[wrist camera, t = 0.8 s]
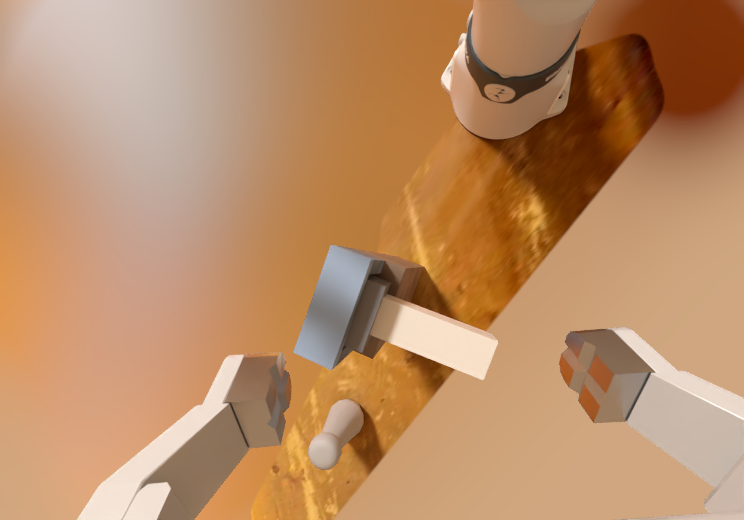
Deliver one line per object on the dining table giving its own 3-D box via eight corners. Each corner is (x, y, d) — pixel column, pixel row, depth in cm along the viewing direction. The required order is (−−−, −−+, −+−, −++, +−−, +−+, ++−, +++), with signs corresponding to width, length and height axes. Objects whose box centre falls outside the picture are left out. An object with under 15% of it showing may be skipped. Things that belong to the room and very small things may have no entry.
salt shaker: (367, 430, 53) (343, 482, 41) (334, 428, 54) (301, 477, 42) (366, 395, 53) (342, 435, 41) (333, 393, 55) (300, 431, 42)
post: (396, 256, 53) (330, 244, 22) (424, 266, 52) (396, 269, 21) (379, 302, 53) (293, 352, 23) (407, 313, 52) (355, 381, 22)
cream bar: (346, 265, 27) (333, 266, 23) (495, 321, 25) (509, 333, 21) (326, 321, 27) (310, 331, 23) (472, 380, 25) (482, 402, 22)
